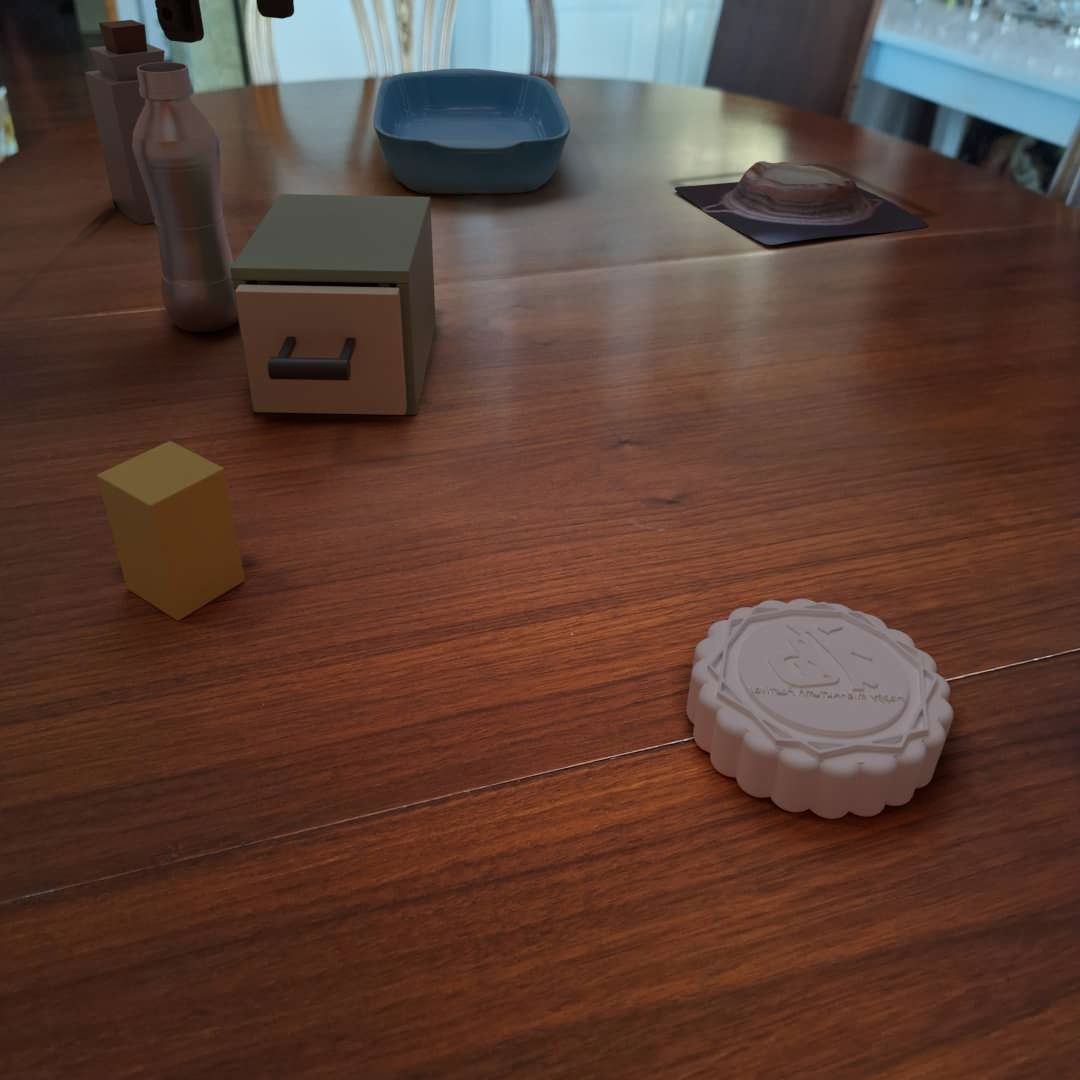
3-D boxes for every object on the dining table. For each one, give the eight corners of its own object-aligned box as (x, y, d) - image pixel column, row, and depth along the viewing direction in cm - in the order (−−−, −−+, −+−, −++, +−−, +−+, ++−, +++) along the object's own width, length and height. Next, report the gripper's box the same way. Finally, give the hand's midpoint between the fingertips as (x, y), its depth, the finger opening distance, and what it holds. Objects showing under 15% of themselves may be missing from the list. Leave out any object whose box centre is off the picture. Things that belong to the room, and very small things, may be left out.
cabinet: (416, 415, 75) (408, 271, 68) (252, 412, 75) (229, 267, 68) (435, 325, 87) (430, 196, 81) (295, 322, 87) (279, 193, 81)
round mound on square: (767, 249, 104) (773, 209, 101) (669, 191, 119) (673, 155, 117) (933, 227, 111) (942, 189, 108) (821, 174, 126) (827, 140, 123)
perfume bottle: (175, 196, 114) (141, 15, 103) (202, 212, 110) (169, 25, 99) (115, 208, 110) (73, 21, 100) (140, 225, 106) (99, 32, 96)
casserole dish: (579, 207, 113) (582, 140, 109) (373, 209, 112) (368, 141, 107) (546, 122, 143) (547, 66, 139) (384, 123, 141) (380, 66, 137)
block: (177, 622, 56) (149, 505, 51) (126, 588, 58) (95, 474, 53) (245, 581, 59) (224, 467, 54) (194, 550, 61) (170, 439, 56)
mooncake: (907, 648, 55) (923, 595, 53) (968, 831, 45) (991, 775, 43) (680, 635, 55) (686, 582, 53) (692, 813, 46) (701, 757, 44)
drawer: (397, 450, 69) (388, 325, 64) (236, 447, 69) (214, 322, 63) (425, 328, 85) (419, 220, 79) (294, 326, 84) (281, 217, 79)
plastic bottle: (242, 305, 90) (202, 55, 78) (254, 336, 85) (213, 74, 73) (165, 314, 88) (112, 60, 77) (172, 347, 83) (117, 79, 71)
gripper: (211, -322, 57) (254, 6, 66) (8, -353, 46) (93, 43, 56) (327, -325, 55) (354, 15, 64) (141, -358, 44) (207, 56, 53)
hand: (233, 28), depth 60 cm, fingers open, 8 cm apart
